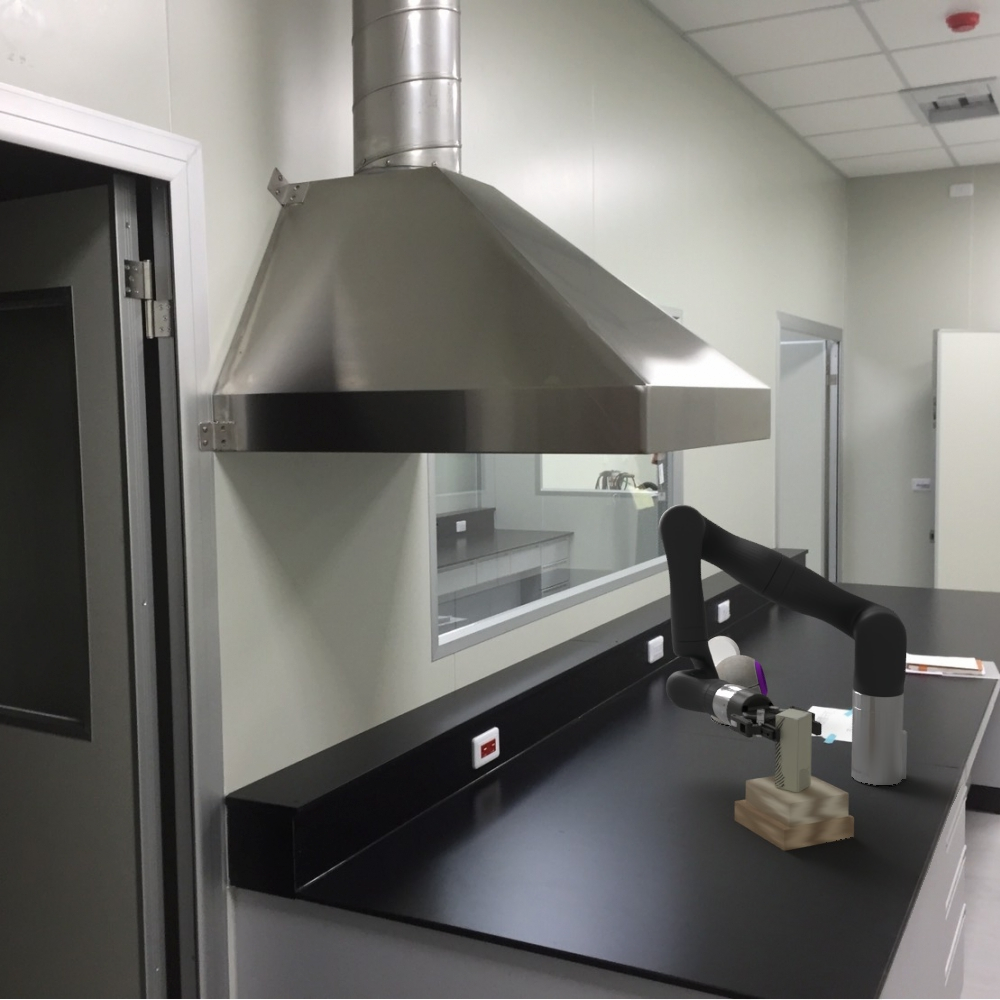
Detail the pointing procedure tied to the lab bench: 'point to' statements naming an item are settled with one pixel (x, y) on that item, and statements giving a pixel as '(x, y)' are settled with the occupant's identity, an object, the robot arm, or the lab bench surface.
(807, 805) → the top slab
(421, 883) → the lab bench surface
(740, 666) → the shader ball
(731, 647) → the tape dispenser
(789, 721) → the box
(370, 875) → the lab bench surface
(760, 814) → the bottom slab
